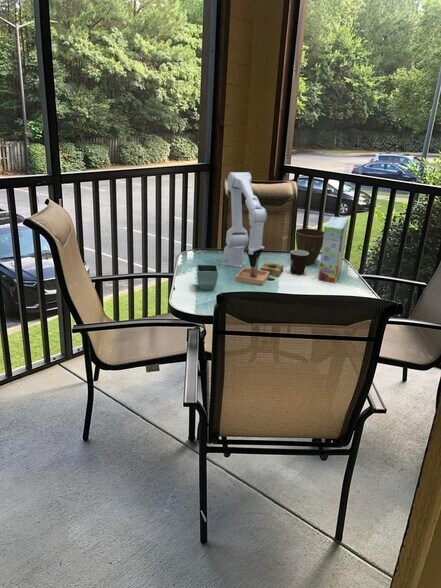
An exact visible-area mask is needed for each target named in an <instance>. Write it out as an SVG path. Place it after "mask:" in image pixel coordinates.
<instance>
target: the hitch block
mask: <svg viewBox="0 0 441 588" xmlns="http://www.w3.org/2000/svg"><path fill="white" fill-rule="evenodd" d="M260 270H262V271H268V272H270V274H269V276H270V275H271V277H277V278H279V277H280V276H281V275H282V273H283V272H284V264H279V263H272V262H264V263H263V264H262V266H261V267H260Z"/></svg>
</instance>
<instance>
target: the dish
mask: <svg viewBox="0 0 441 588" xmlns="http://www.w3.org/2000/svg"><path fill="white" fill-rule="evenodd" d="M250 273H251V267H242V268H241V270H239V272H238V273H237V274H235V277H234V282H240V283H245V284H252V285H255V286H257V285H258V286H263V285H264V284H265V283H266V282H267V280H268V279H269V278H270V275H269V274H270V272H268V271H262V270H261V269H257V277H251V276H250Z"/></svg>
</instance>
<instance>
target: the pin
mask: <svg viewBox="0 0 441 588" xmlns="http://www.w3.org/2000/svg"><path fill="white" fill-rule="evenodd" d="M258 267H259V260H258V258H257V261H256V265H255V267H250V269H251V273H250V276H251V277H257V270H259V269H258Z"/></svg>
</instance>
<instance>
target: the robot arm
mask: <svg viewBox="0 0 441 588" xmlns="http://www.w3.org/2000/svg"><path fill="white" fill-rule="evenodd" d="M251 185H252V174H251V173H250V171H246V172H245V171H244V172H237V171H235V172H234V171H230V172H229V173H228V175H227V190H228V191H229V192H230V203H231V206H230V207H231V227H230V228H229V229H228V230H227V231H226V237H225V244H226V245H225V246H224V249H223V261H222V265H223V266H228V267H235V268H243V266H245V264H246V262H245V261H244V255H245V254H244V253H245V248H246V247H247V246H248V250H247V251H246V255H247V257H248V260H249V268H251V267H255V265H256V261H257V258H258V261H259V259H260V256H261V255H262V253H263V251H264V249H265V246H264V245H262V244H263V236H264V227H265V226H264V225H265V222H266V221H267V220H268V219H267V218H268V213H267V210H266V208H264V207H263V206H262V205H261V203H260V201H259V198H258V196H257V195H254V192H253V188H252V186H251ZM242 193H243V196H244V197H245V201H244V202H245V205H246V208H247V210H248V220H249V226H250V228H249V235H248V230H247V229H246V228H245V227H244V226H243V207H242V206H243V205H242V201H243V200H242Z"/></svg>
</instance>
